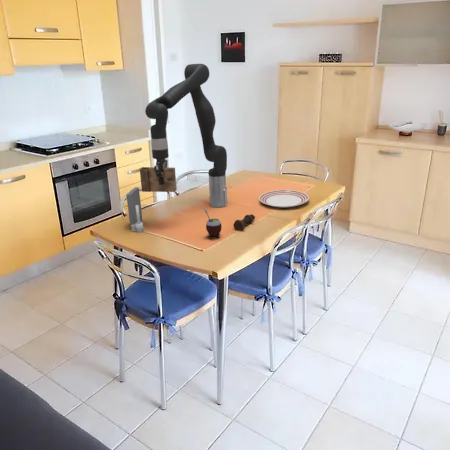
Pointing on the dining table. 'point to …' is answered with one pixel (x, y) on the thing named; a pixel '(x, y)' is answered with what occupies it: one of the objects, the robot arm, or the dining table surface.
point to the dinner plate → (284, 198)
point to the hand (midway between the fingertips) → (162, 183)
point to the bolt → (243, 222)
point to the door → (157, 180)
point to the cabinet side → (135, 210)
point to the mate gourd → (213, 227)
